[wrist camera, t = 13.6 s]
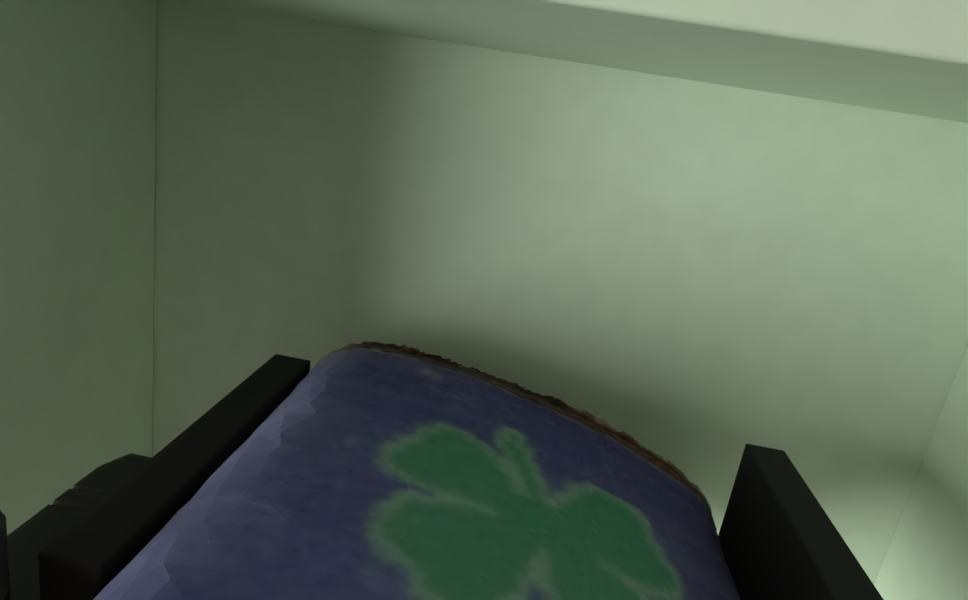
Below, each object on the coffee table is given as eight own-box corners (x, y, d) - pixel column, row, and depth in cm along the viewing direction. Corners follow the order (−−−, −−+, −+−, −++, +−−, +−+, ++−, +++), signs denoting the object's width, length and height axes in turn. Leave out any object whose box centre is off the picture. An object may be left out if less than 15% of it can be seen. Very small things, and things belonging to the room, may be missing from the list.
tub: (141, 611, 19) (-121, 923, 12) (146, -41, 14) (-302, -210, 7) (815, 758, 18) (994, 1209, 11) (1076, 100, 13) (1757, 80, 6)
